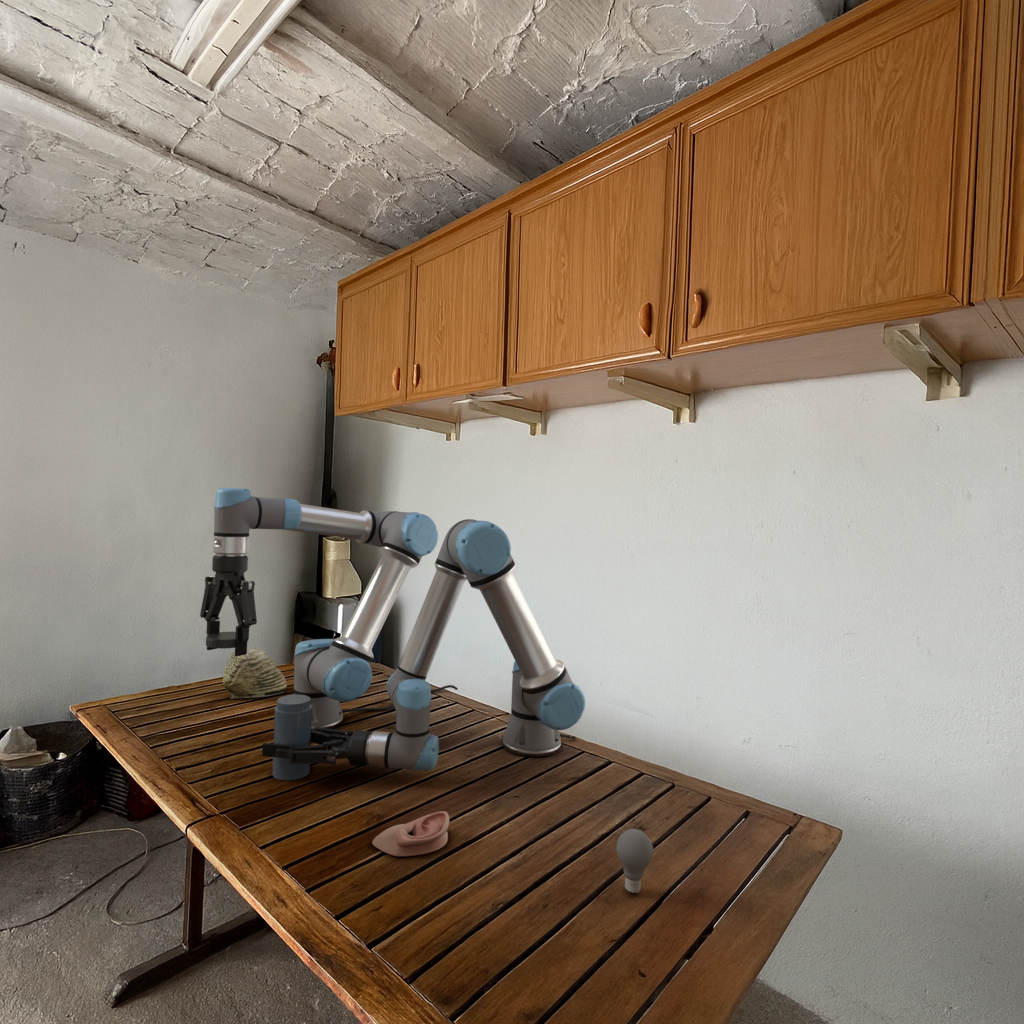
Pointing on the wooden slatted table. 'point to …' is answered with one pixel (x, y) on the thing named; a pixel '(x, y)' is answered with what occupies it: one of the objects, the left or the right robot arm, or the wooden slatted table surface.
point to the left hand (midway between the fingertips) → (226, 651)
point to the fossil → (253, 675)
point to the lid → (221, 640)
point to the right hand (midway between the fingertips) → (271, 742)
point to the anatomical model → (415, 836)
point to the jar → (292, 733)
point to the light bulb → (634, 857)
